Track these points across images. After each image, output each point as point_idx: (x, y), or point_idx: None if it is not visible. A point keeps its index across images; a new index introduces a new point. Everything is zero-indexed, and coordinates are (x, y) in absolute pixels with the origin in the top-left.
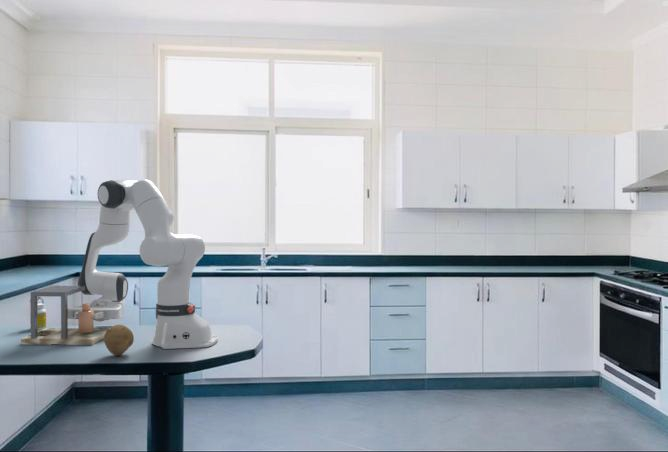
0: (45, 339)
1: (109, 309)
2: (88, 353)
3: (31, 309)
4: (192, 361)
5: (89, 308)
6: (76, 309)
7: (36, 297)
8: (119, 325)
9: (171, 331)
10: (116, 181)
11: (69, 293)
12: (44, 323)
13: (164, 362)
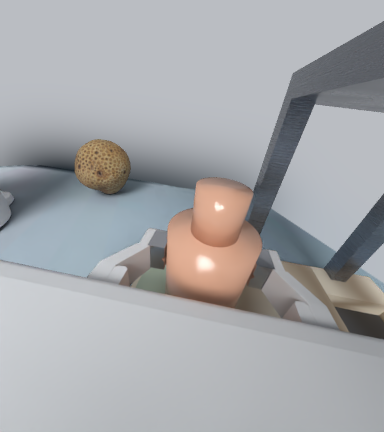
0: (291, 263)
1: (21, 271)
2: (158, 207)
3: None
4: (24, 165)
5: (193, 211)
6: (372, 339)
7: None
8: (99, 139)
9: None
10: None
11: (306, 83)
12: None
13: (60, 169)
